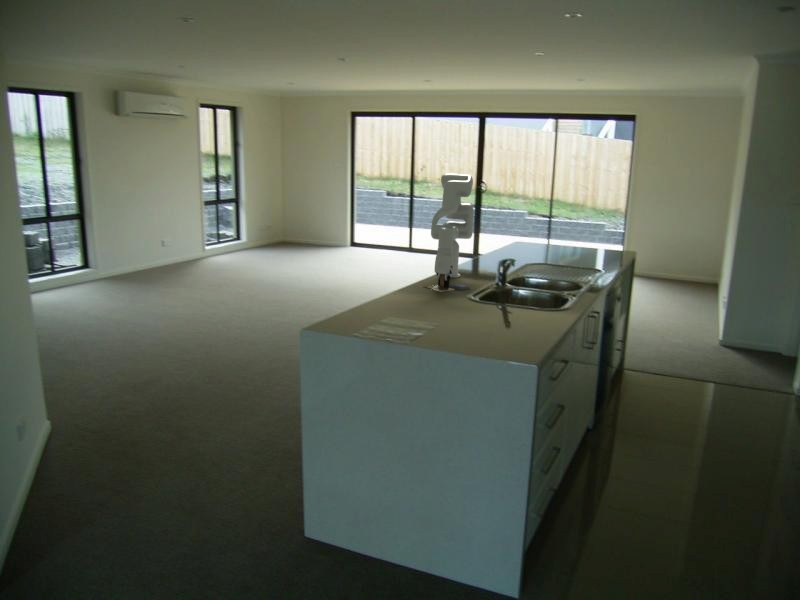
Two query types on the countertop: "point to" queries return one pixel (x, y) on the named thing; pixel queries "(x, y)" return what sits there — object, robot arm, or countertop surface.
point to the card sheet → (440, 289)
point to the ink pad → (459, 286)
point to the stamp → (442, 282)
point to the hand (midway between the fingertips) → (443, 286)
